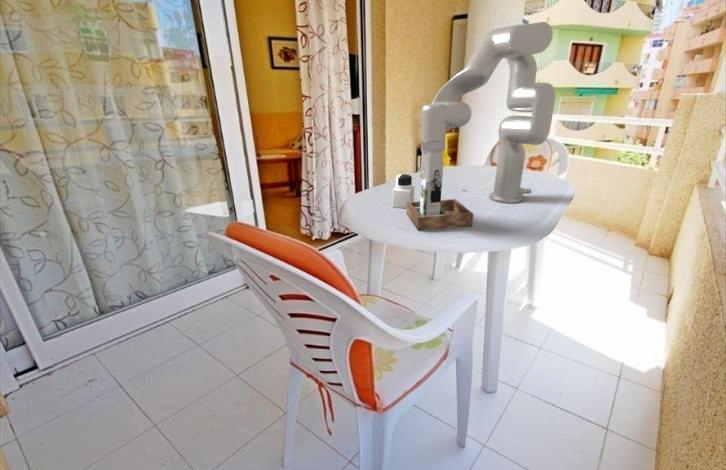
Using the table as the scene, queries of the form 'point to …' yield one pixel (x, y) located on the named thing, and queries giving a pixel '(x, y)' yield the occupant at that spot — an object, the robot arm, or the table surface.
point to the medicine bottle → (403, 191)
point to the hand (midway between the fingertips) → (431, 197)
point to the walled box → (441, 216)
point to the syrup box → (428, 200)
